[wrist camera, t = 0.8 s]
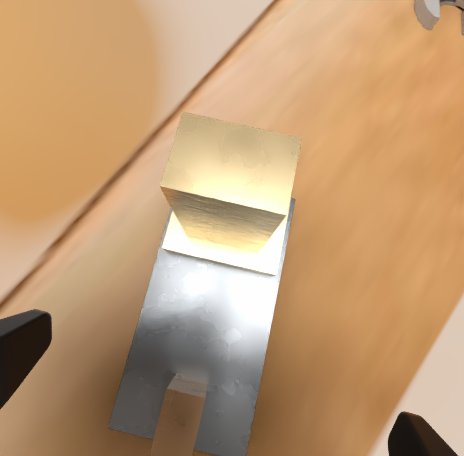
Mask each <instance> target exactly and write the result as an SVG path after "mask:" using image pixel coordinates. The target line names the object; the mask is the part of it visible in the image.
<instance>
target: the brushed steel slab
mask: <svg viewBox="0 0 464 456" xmlns="http://www.w3.org/2000/svg"><path fill="white" fill-rule="evenodd" d="M294 204H295V199H293V198H291V202H290V207H289V212H288V217H287V222H286V228H285V233H284V238H283V243H282V248H281V253H280V258H279V263H278V269H277V274H276V275H275V276H273V277H271V276H267V275H262V274H258V273H254V272H250V271H245V270H241V269H237V268H232V267H228V266H224V265H220V264H215V263H211V262H207V261H202V260H198V259H194V258H190V257H185V256H181V255H177V254H172V253H168V252H166V251H165V250H164V249H163V248H162V246H163V243H164V239H165V236H166V233H167V229H168V226H169V222H170V219H171V215H172V212H173V210H172V208H171V210H170V213H169V217H168V220H167V224H166V227H165V231H164V234H163V237H162V241H161V244H160V248H159V251H158V255H157V258H156V262H155V265H154V269H153V272H152V276H151V279H150V283H149V286H148V289H147V293H146V296H145V300H144V303H143V307H142V310H141V314H140V317H139V321H138V324H137V328H136V331H135V335H134V338H133V341H132V345H131V348H130V352H129V355H128V359H127V362H126V366H125V369H124V373H123V376H122V380H121V383H120V387H119V390H118V393H117V397H116V400H115V404H114V407H113V411H112V414H111V418H110V421H109V425H108V428H109V429H113V430H117V431H121V432H125V433H129V434H133V435H137V436H141V437H145V438H149V439H153V443H152V447H151V451H150V456H192V455H193V450H197V451H201V452H205V453H209V454H213V455H217V456H246V454H247V449H248V443H249V438H250V433H251V428H252V423H253V417H254V412H255V407H256V402H257V396H258V391H259V386H260V381H261V376H262V370H263V365H264V360H265V355H266V350H267V344H268V339H269V334H270V329H271V324H272V318H273V313H274V308H275V303H276V297H277V292H278V287H279V282H280V277H281V271H282V266H283V261H284V256H285V251H286V245H287V240H288V235H289V230H290V224H291V219H292V214H293V209H294Z"/></svg>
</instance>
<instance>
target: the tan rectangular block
mask: <svg viewBox="0 0 464 456" xmlns="http://www.w3.org/2000/svg"><path fill="white" fill-rule="evenodd" d="M301 140H302V138H299V137H294V136H290V135H285V134H281V133H276V132H272V131H267V130H263V129H258V128H254V127H249V126H245V125H240V124H236V123H231V122H227V121H222V120H218V119H213V118H209V117H204V116H200V115H195V114H191V113H186V112H182V115H181V118H180V122H179V125H178V128H177V131H176V135H175V138H174V141H173V145H172V148H171V151H170V155H169V158H168V161H167V165H166V168H165V171H164V174H163V178H162V181H161V184H160V187H161V189H162V191H163V193H164V195H165V197H166V199H167V200H168V202H169V204H170V206H171V208H172V210H173V212H172V215H171V219H170V222H169V226H168V229H167V233H166V236H165V239H164V243H163V246H162V248H163V249H164V250H165V251H166V252H168V253H172V254H177V255H181V256H185V257H190V258H194V259H198V260H202V261H207V262H211V263H215V264H220V265H224V266H228V267H232V268H237V269H241V270H245V271H250V272H254V273H258V274H262V275H267V276H271V277H273V276H275V275H276V274H277V269H278V263H279V258H280V253H281V248H282V243H283V238H284V233H285V228H286V222H287V217H288V212H289V207H290V202H291V191H292V186H293V181H294V176H295V171H296V166H297V161H298V156H299V151H300V146H301Z"/></svg>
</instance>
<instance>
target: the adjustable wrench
mask: <svg viewBox="0 0 464 456" xmlns="http://www.w3.org/2000/svg"><path fill="white" fill-rule="evenodd" d="M444 4H446V5H452V6H459V7H461V8H463V9H464V0H415V5H414V9H415V13H416V16H417V18H418V21H419V22H420V23H421V24H422V26H423V27H424V28H426V29H428V30H431V29H432V28H433V26H434V25H435V24H436V22H437V21H438V20H439V18H440V6H441V5H444ZM462 35H464V12H463V13H462Z"/></svg>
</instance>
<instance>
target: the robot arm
mask: <svg viewBox="0 0 464 456" xmlns="http://www.w3.org/2000/svg"><path fill="white" fill-rule="evenodd" d="M51 340H52V321H51V315H50V314H49V313H48V312H44V311H41V310H36V309H34V310H30V311H27V312H23V313H20V314H17V315H13V316H10V317H7V318H4V319H0V409H1V408H2V407H3V406H4V405H5V403H6V402H7V401H8V400H9V399H10V397H11V396H12V395H13V394H14V392H15V391H16V390H17V388H18V387H19V386H20V384H21V383H22V382H23V380H24V379H25V378H26V376H27V375H28V374H29V372H30V371H31V370H32V369H33V367H34V366H35V365H36V363H37V362H38V361H39V359H40V358H41V357H42V355H43V354H44V353H45V351H46V350H47V349H48V347H49V345H50V343H51ZM388 451H389V456H458V455H457V454H456V453H455V452H454V451H453V450H452V449H451V448H450V447H449V445H448V444H447V443H446V442H445V441H444V440H443V439H442V438H441V437H440V436H439V435H438V434H437V433H436V431H435V430H434V429H432V427H431V426H430V425H429V424H428V423H427V422H426V421H425V420H424V419H423V418H422V417H421V416H419V415H416V414H412V413H408V412H401V413H400V414H399V415H398V417H397V419H396V422H395V424H394V426H393V428H392V430H391V432H390V435H389V438H388Z"/></svg>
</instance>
